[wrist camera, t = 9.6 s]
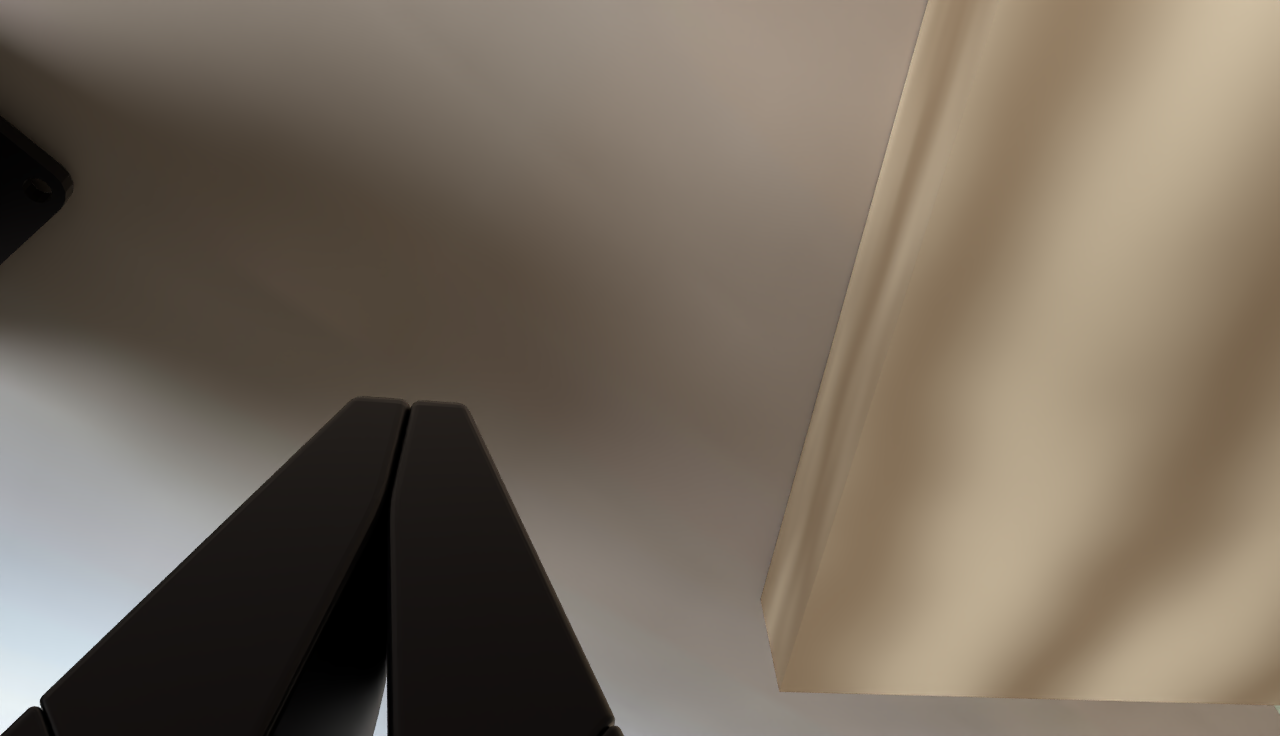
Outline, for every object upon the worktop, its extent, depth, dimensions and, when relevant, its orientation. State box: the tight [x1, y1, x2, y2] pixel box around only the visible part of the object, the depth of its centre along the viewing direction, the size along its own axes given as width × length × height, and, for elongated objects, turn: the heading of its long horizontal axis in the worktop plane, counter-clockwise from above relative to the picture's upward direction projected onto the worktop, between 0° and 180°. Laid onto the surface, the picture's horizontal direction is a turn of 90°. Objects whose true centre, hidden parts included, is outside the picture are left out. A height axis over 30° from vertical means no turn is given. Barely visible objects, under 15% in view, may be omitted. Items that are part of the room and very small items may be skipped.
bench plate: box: [761, 0, 1280, 705], centre depth 22 cm, size 14×22×3 cm, turn 173°
